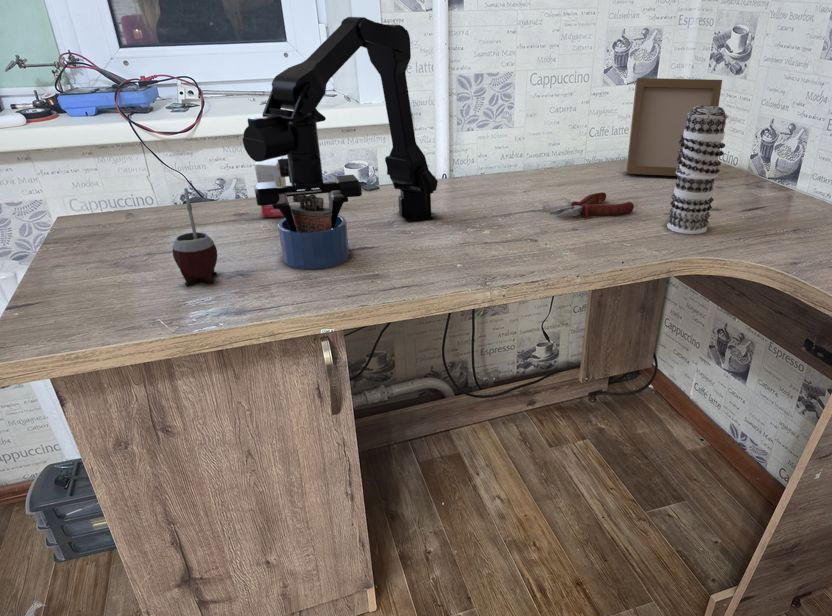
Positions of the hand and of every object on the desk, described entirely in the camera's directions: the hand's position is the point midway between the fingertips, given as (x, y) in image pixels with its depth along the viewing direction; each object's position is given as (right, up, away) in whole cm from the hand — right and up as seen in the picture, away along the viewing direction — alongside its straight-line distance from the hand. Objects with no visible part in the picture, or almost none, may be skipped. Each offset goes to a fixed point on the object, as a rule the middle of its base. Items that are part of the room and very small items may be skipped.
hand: (314, 234), depth 119 cm
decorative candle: (+77, +5, +18) cm, 80 cm away
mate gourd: (-18, -10, -7) cm, 22 cm away
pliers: (+57, +11, +28) cm, 65 cm away
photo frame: (+85, +29, +60) cm, 108 cm away
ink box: (-16, +10, +27) cm, 33 cm away
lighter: (0, -2, +1) cm, 3 cm away
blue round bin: (0, -4, +2) cm, 5 cm away
